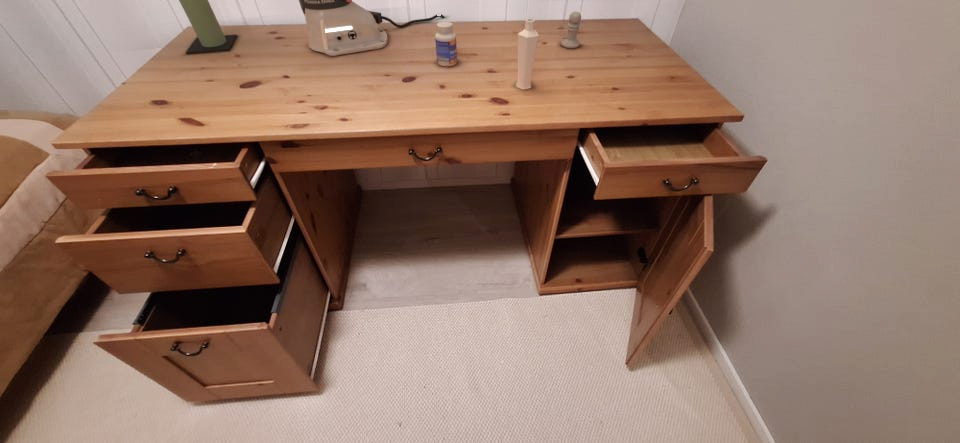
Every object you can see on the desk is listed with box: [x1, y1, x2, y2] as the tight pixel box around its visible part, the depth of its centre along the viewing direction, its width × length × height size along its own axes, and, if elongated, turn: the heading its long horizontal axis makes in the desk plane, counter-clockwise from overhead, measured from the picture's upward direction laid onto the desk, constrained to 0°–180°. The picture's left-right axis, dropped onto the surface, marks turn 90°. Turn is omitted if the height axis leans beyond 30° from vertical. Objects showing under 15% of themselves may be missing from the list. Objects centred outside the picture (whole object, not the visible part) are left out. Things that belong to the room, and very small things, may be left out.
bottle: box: [178, 0, 227, 47], centre depth 102 cm, size 6×6×17 cm
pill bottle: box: [434, 21, 458, 67], centre depth 98 cm, size 5×5×10 cm
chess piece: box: [560, 10, 582, 49], centre depth 107 cm, size 5×5×9 cm
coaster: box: [185, 33, 238, 55], centre depth 109 cm, size 11×11×1 cm
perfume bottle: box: [515, 18, 540, 91], centre depth 87 cm, size 5×4×15 cm
